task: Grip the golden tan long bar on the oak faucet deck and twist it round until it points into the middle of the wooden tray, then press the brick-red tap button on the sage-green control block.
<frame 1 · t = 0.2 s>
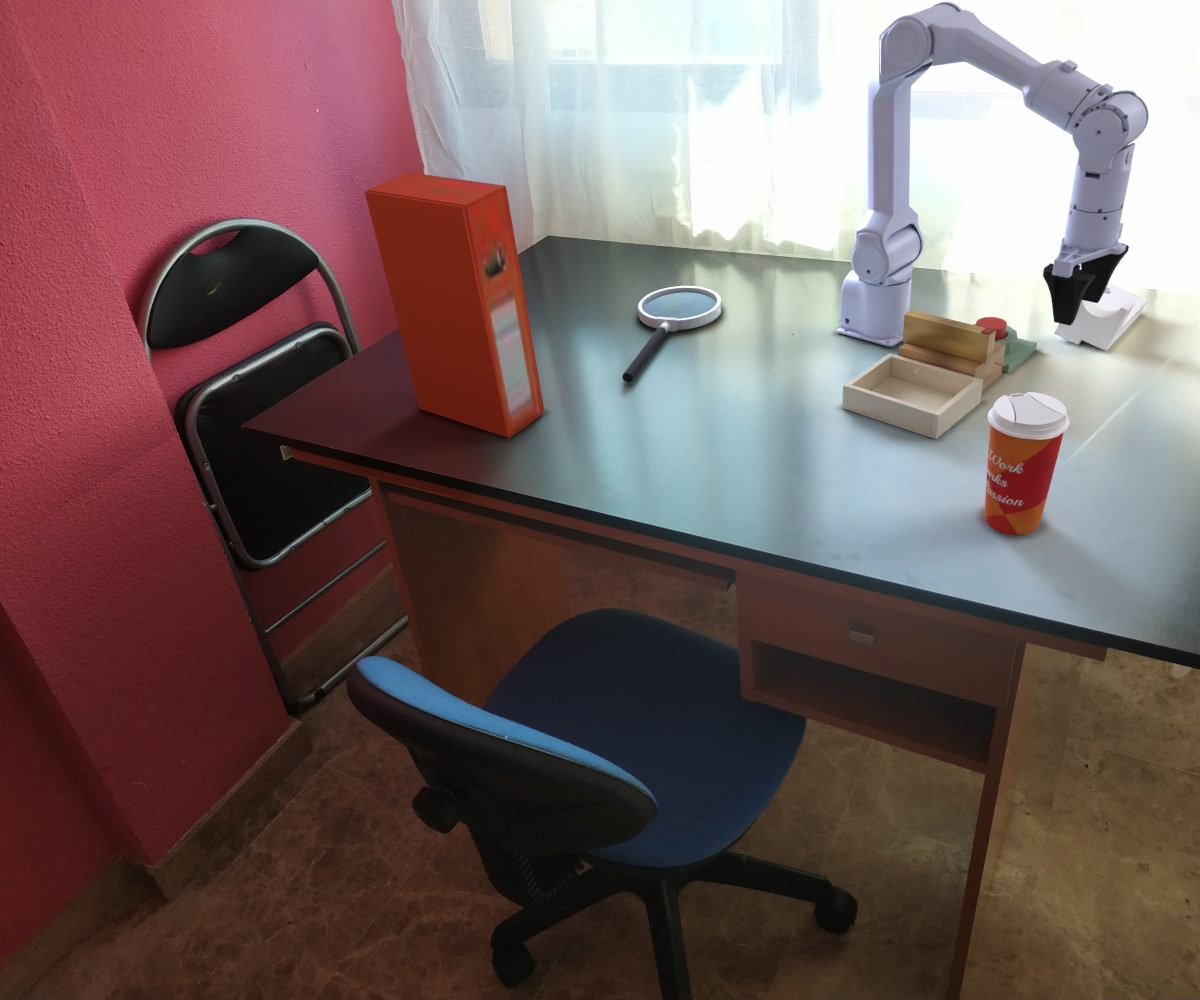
hand: (1076, 311, 123), 10 cm above the table, tool pointing down, fingers open, 7 cm apart
tap control: (987, 352, 138), on the table
paper cup: (1011, 521, 107), on the table
bracket: (1102, 329, 140), on the table
tap button: (990, 329, 136), point 4 cm above the table, slide at 0.1 cm
faucet deck: (948, 375, 134), on the table
file binder: (480, 412, 140), on the table
golden tan long bar: (947, 335, 129), point 7 cm above the table, hinge at 0.0°
wooden tray: (910, 405, 129), on the table
magnifying glass: (662, 338, 153), on the table
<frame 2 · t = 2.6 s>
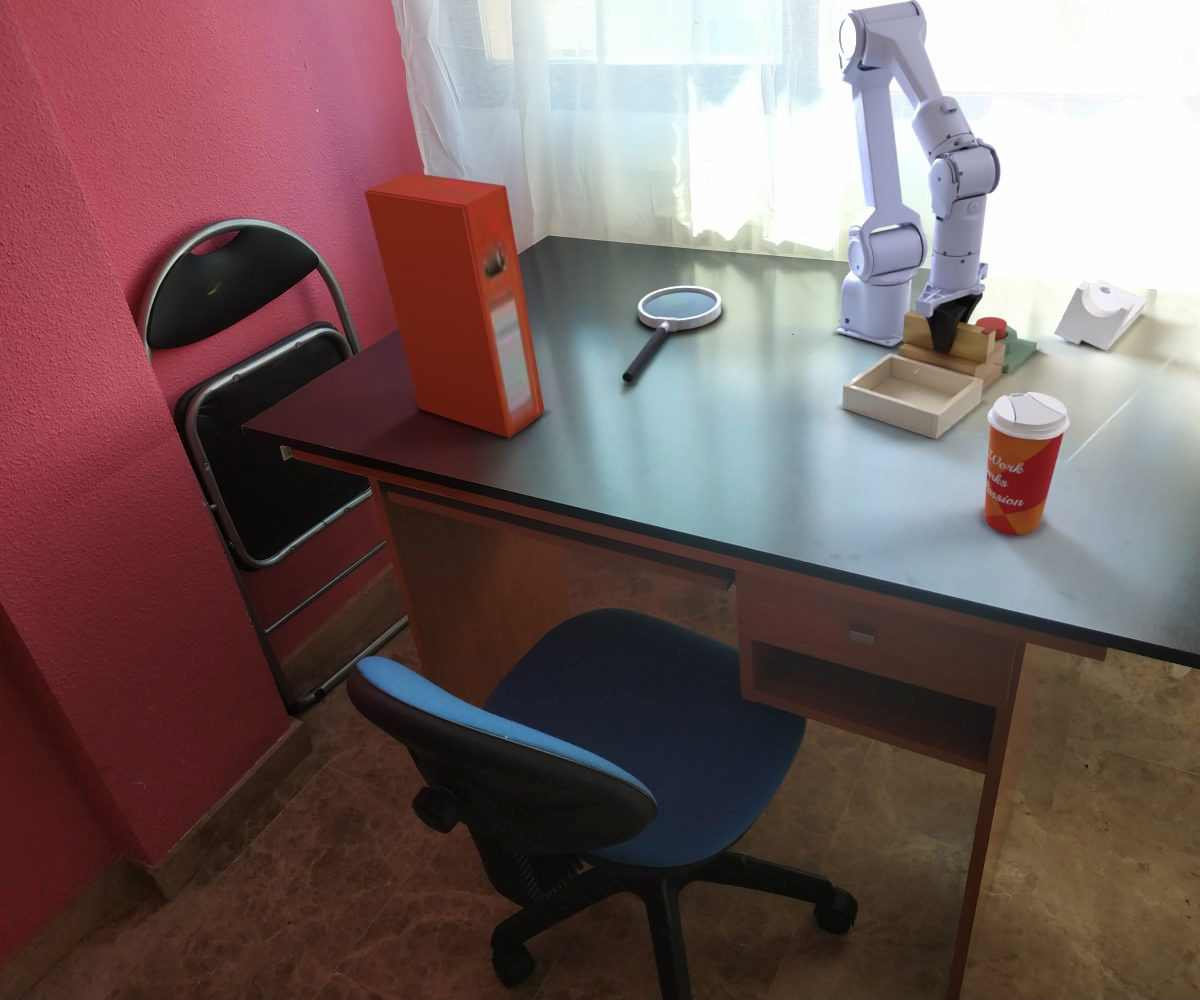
hand: (946, 346, 130), 5 cm above the table, tool pointing down, fingers closed on golden tan long bar, 2 cm apart
golden tan long bar: (947, 335, 129), point 7 cm above the table, hinge at 0.0°, touching gripper
everything else where it was.
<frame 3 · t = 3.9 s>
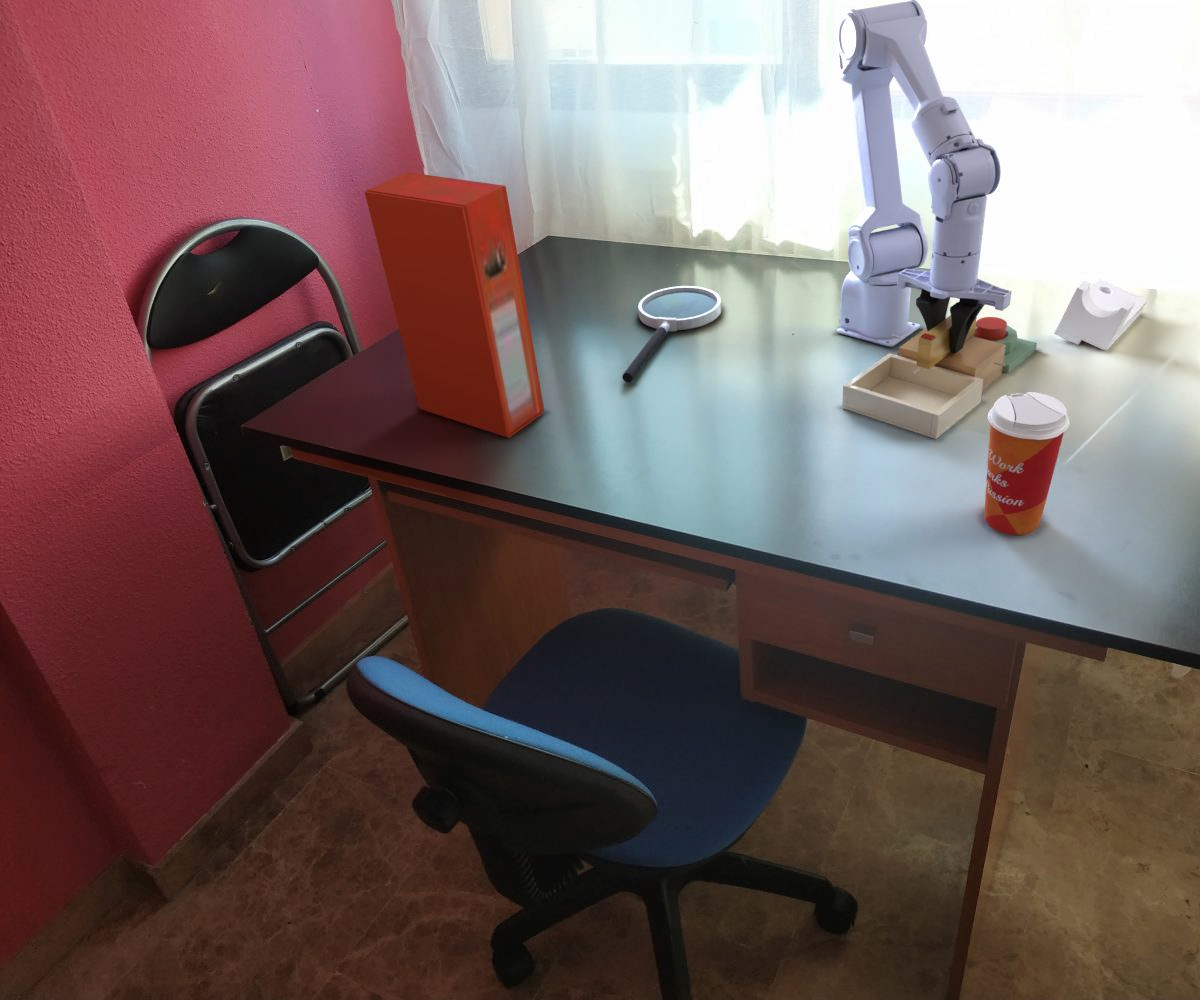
hand: (946, 347, 130), 5 cm above the table, tool pointing down, fingers closed
golden tan long bar: (947, 335, 129), point 7 cm above the table, hinge at -89.5°
everything else where it was.
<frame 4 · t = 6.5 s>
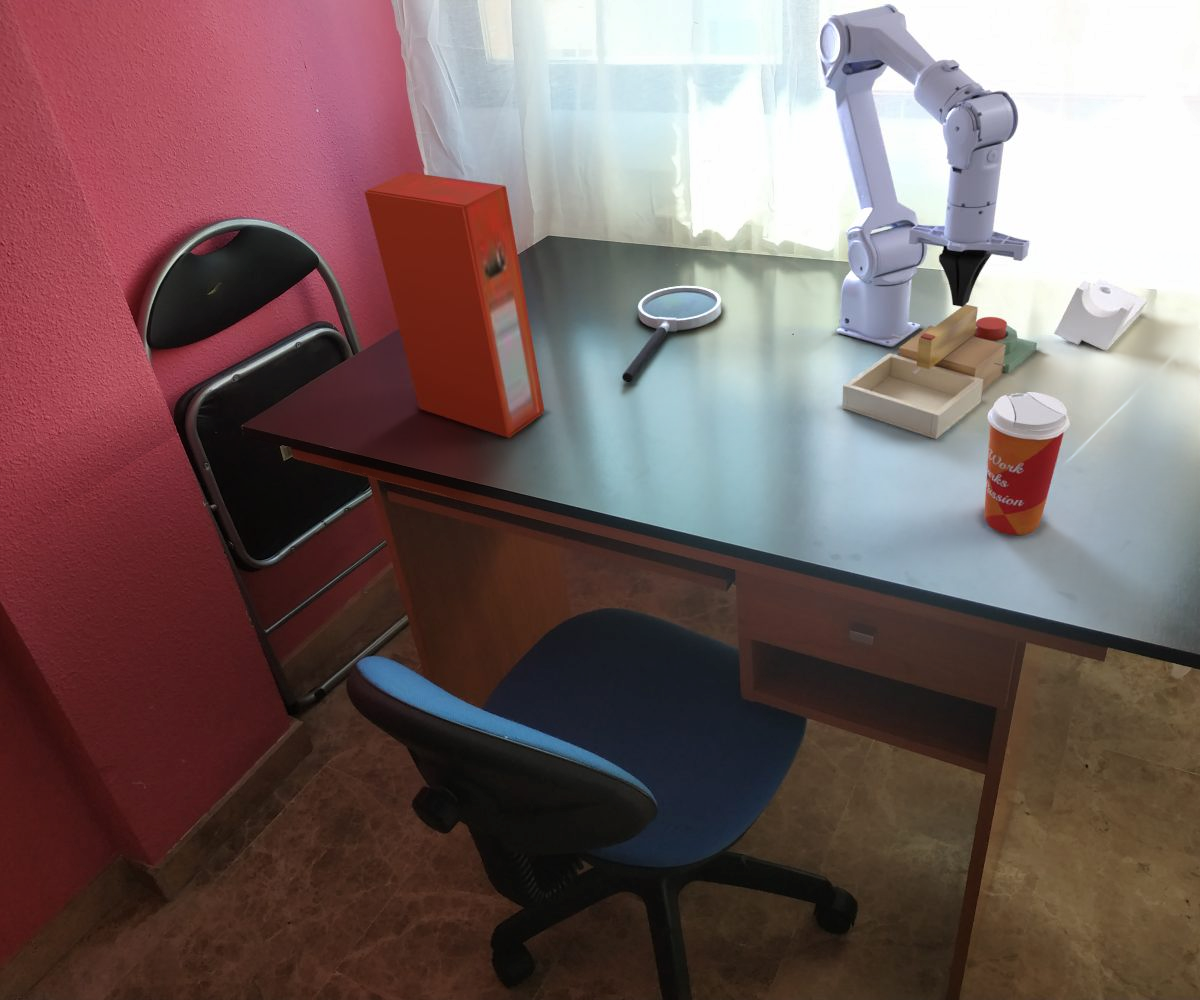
hand: (960, 303, 128), 10 cm above the table, tool pointing down, fingers closed
nothing on the table moved.
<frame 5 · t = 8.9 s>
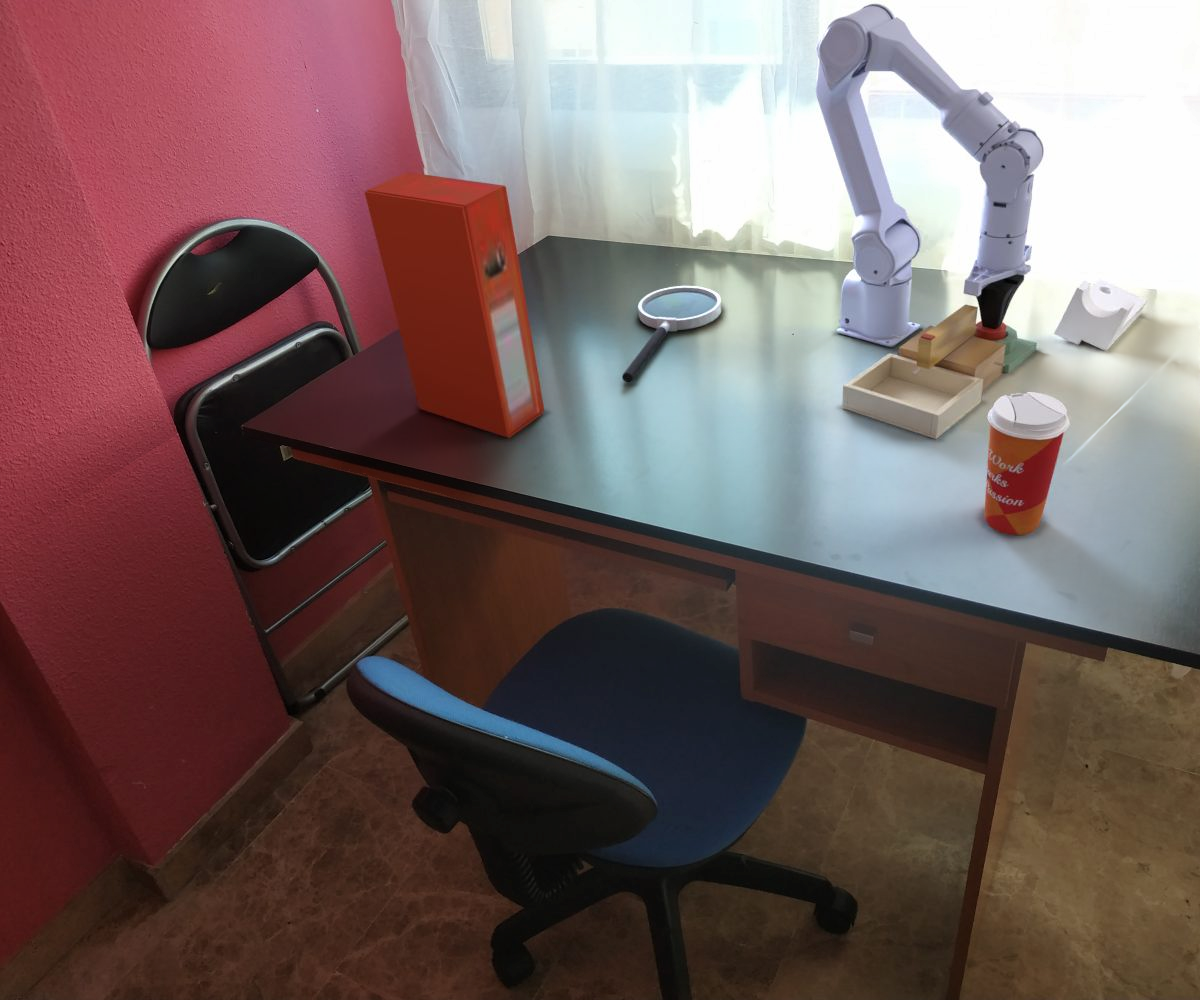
hand: (991, 326, 136), 4 cm above the table, tool pointing down, fingers closed, pressing on tap button
tap button: (990, 332, 136), point 3 cm above the table, slide at -0.3 cm, touching gripper
everything else where it was.
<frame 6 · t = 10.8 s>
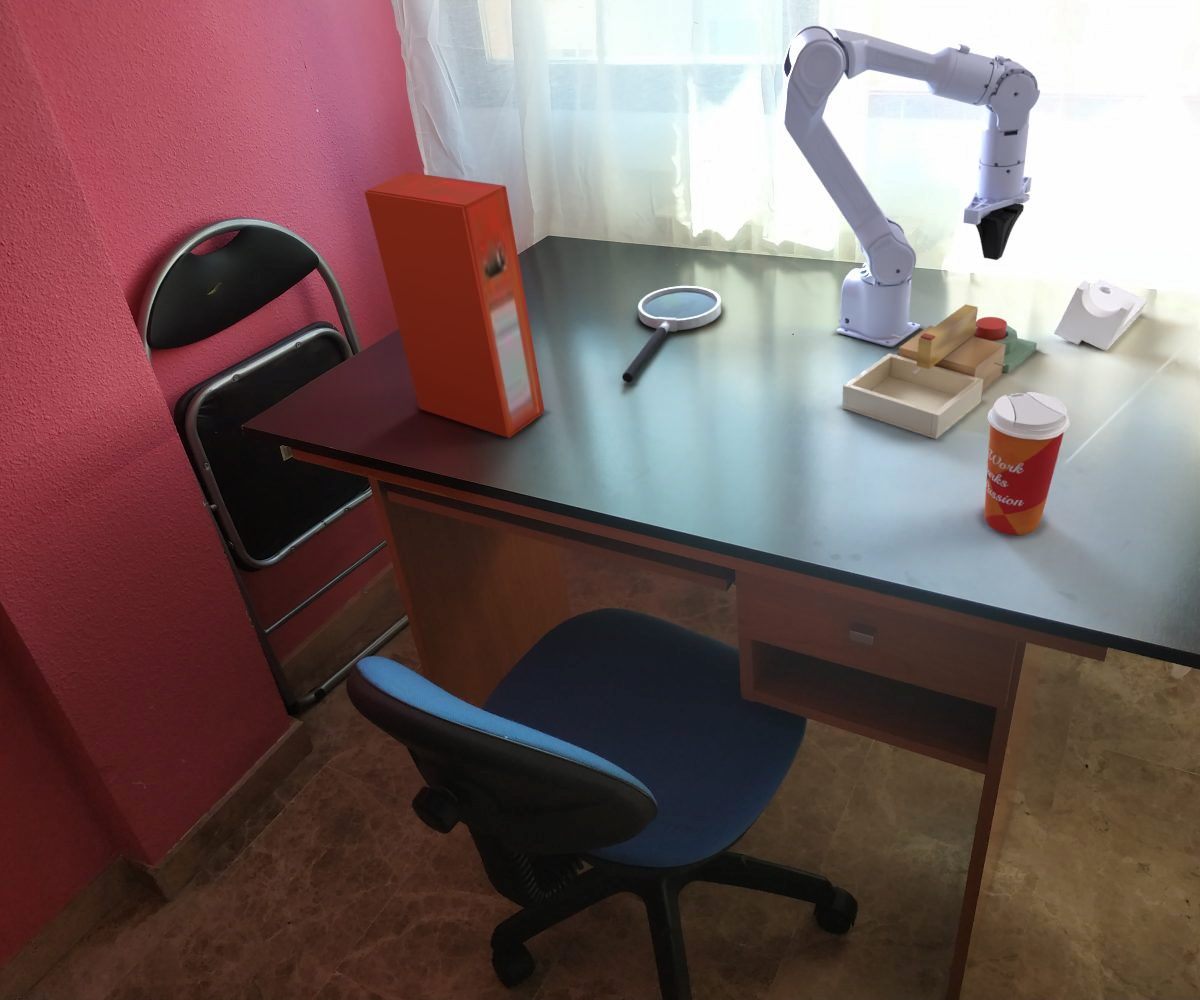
hand: (992, 257, 139), 10 cm above the table, tool pointing down, fingers closed
tap button: (990, 329, 136), point 4 cm above the table, slide at 0.1 cm
everything else where it was.
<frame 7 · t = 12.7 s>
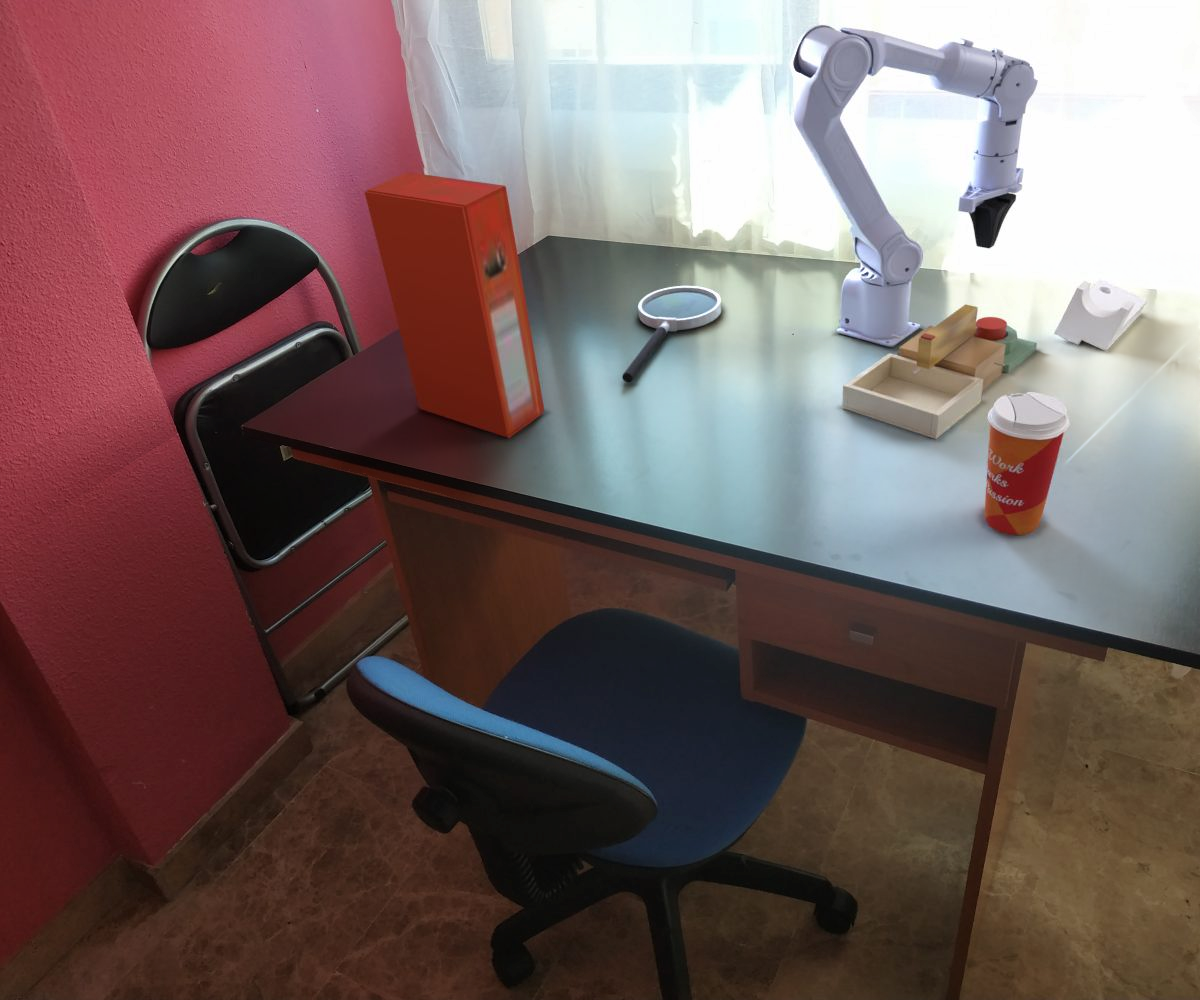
hand: (985, 245, 143), 10 cm above the table, tool pointing down, fingers closed
nothing on the table moved.
at the end: golden tan long bar at -90° (first picture: +0°); tap button pushed in 1.2 cm at the most during the clip, back to where it started at the end; tap button slide at 0.1 cm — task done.
